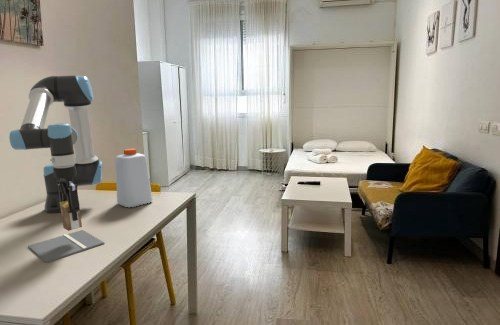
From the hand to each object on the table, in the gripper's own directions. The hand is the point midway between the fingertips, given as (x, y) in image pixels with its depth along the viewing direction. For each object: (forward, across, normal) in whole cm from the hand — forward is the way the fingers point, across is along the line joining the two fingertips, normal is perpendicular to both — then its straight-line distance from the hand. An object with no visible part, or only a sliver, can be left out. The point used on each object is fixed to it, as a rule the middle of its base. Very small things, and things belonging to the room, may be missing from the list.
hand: (72, 226), depth 136 cm
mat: (+7, 0, -3) cm, 7 cm away
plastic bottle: (+7, -29, +41) cm, 51 cm away
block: (0, 0, 0) cm, 0 cm away
